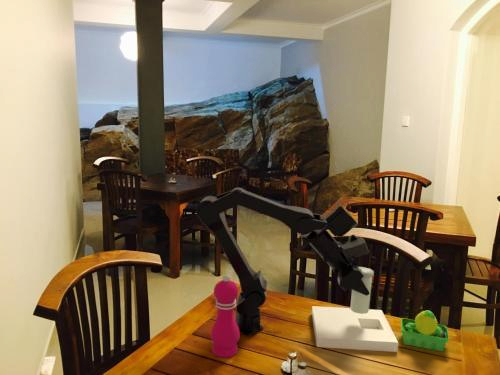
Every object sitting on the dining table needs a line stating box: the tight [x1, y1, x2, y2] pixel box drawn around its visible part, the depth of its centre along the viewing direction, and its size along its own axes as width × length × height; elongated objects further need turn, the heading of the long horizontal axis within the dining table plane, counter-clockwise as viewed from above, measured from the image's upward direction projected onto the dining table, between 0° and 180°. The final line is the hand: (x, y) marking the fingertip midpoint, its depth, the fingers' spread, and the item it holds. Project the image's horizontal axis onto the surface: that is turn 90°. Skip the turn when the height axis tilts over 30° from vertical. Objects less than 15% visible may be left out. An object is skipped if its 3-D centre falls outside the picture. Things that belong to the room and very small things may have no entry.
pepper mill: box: [210, 274, 241, 359], centre depth 106 cm, size 7×7×20 cm
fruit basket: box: [400, 309, 450, 352], centre depth 111 cm, size 11×9×11 cm
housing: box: [311, 305, 399, 353], centre depth 117 cm, size 20×18×4 cm
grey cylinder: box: [349, 266, 375, 314], centre depth 115 cm, size 5×5×11 cm
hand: (366, 290), depth 115 cm, fingers closed on grey cylinder, 5 cm apart
